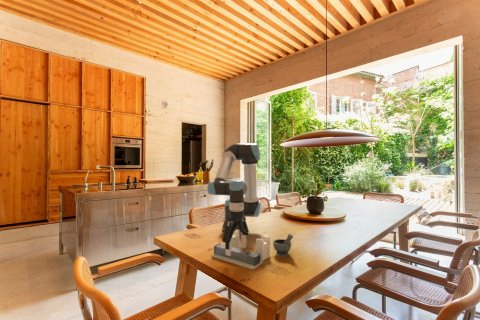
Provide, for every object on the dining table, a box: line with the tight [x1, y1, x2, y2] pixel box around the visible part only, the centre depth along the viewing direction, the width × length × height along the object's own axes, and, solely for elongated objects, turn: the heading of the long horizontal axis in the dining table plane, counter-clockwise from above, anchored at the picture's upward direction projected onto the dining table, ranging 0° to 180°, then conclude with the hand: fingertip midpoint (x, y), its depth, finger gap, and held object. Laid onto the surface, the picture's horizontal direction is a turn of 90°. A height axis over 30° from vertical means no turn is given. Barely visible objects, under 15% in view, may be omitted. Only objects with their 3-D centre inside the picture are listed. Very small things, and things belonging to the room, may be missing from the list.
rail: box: [213, 242, 261, 266], centre depth 125 cm, size 26×5×4 cm, turn 55°
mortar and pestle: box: [272, 233, 294, 258], centre depth 132 cm, size 11×9×12 cm
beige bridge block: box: [230, 230, 241, 249], centre depth 139 cm, size 4×8×10 cm, turn 145°
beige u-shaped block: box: [255, 235, 271, 262], centre depth 128 cm, size 4×8×10 cm, turn 145°
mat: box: [211, 253, 263, 270], centre depth 125 cm, size 26×9×1 cm, turn 55°
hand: (236, 251), depth 125 cm, fingers open, 13 cm apart
